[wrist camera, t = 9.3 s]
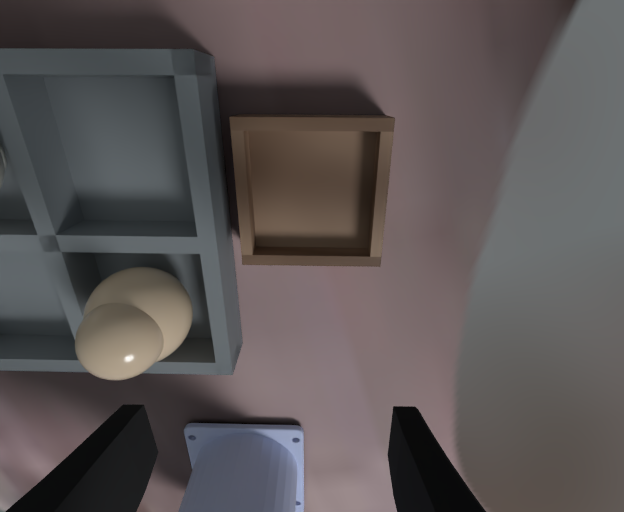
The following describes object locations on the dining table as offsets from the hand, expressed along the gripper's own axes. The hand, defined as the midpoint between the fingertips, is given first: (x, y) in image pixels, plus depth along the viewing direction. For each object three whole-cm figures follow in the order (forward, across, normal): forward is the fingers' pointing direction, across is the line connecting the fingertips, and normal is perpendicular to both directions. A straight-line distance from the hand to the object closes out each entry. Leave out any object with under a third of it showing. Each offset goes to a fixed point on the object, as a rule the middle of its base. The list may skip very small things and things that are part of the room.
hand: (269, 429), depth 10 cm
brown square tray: (+9, -1, -5) cm, 11 cm away
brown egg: (+9, +7, 0) cm, 11 cm away
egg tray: (+9, +10, -3) cm, 14 cm away
